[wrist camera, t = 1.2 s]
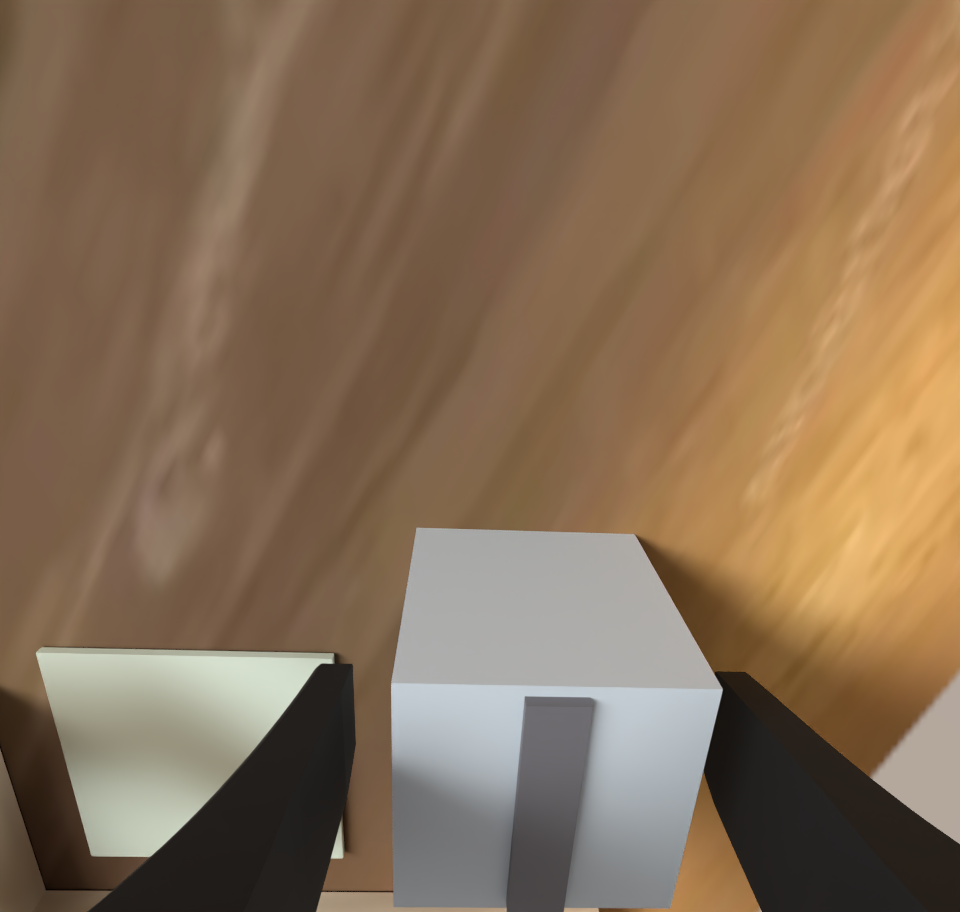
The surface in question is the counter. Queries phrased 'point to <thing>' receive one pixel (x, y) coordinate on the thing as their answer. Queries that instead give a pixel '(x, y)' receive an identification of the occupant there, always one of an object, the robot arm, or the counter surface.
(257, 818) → the robot arm
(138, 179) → the counter surface
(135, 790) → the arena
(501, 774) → the cube
